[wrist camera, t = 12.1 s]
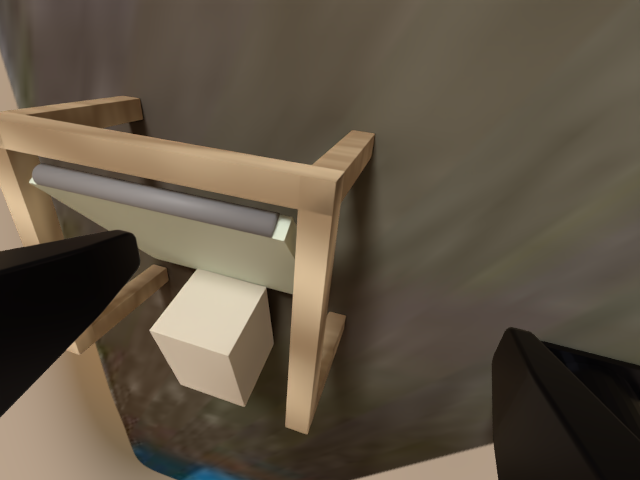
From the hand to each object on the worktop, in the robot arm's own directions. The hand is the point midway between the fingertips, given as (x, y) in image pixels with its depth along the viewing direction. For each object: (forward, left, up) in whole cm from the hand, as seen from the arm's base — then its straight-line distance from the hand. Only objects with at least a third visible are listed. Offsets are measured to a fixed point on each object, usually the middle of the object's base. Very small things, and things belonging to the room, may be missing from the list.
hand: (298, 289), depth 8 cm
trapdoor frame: (+8, +6, -12) cm, 16 cm away
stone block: (+8, +9, -8) cm, 15 cm away
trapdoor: (+8, +4, -8) cm, 12 cm away
